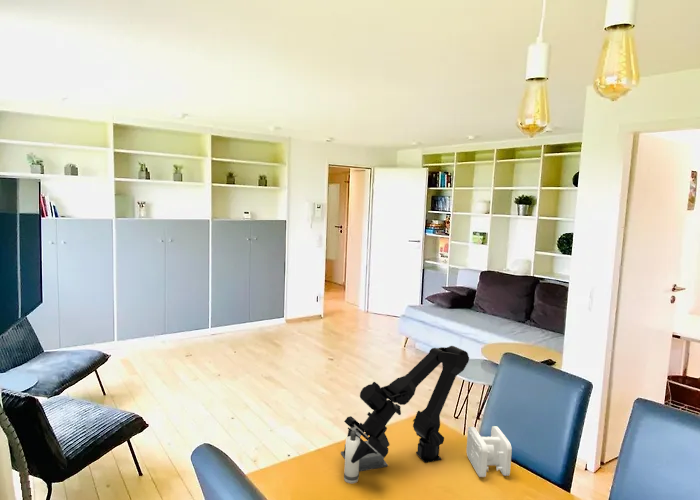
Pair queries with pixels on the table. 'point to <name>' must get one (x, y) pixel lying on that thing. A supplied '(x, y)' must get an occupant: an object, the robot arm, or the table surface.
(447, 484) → the table surface
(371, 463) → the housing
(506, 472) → the cable organizer
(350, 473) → the white bottle
